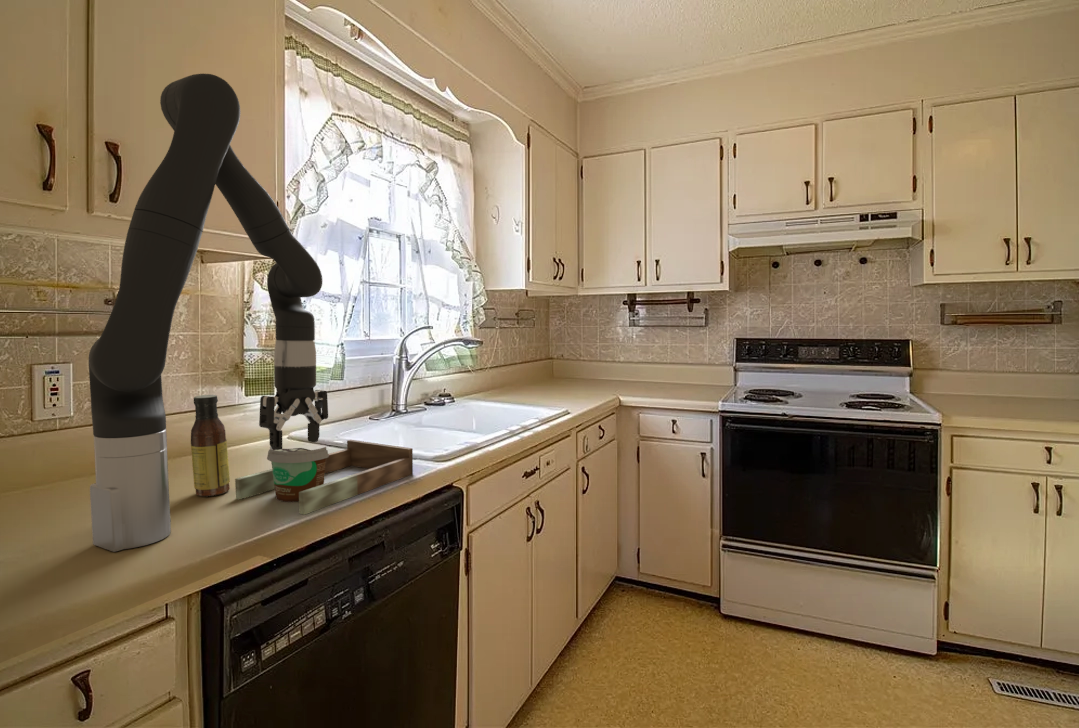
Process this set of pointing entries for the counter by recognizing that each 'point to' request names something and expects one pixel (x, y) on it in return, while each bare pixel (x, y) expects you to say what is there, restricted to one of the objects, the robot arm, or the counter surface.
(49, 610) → the counter surface
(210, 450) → the sauce bottle
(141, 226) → the robot arm
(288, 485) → the food container
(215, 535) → the counter surface
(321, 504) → the crate bay
